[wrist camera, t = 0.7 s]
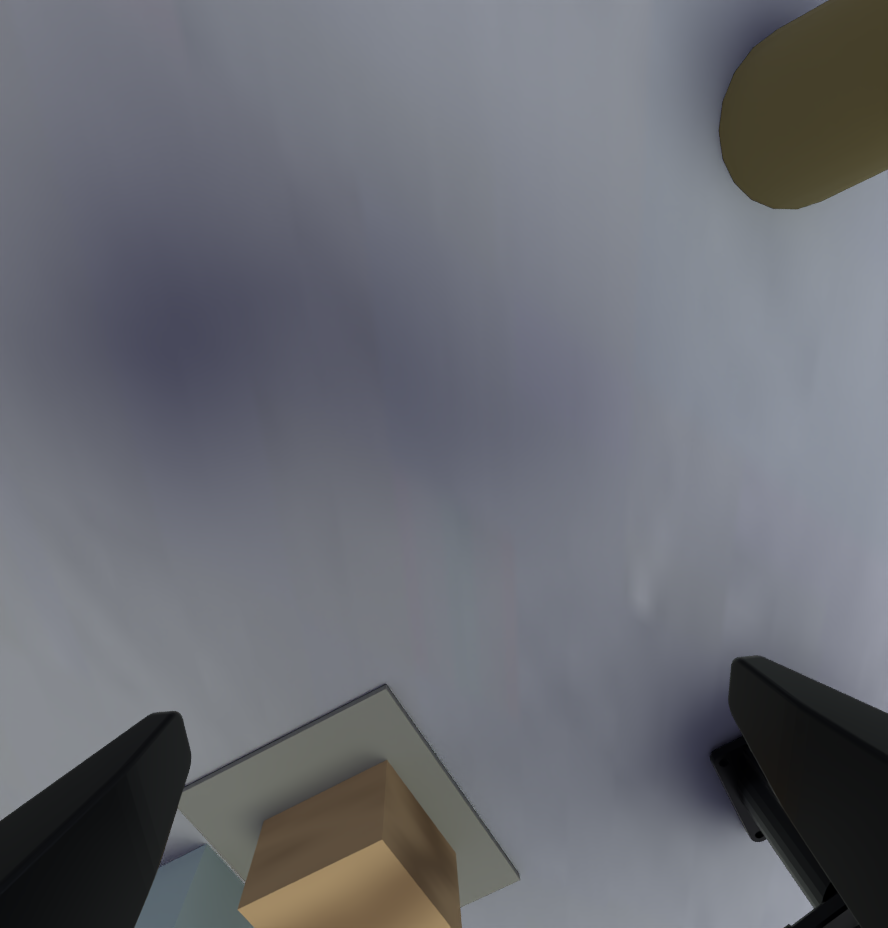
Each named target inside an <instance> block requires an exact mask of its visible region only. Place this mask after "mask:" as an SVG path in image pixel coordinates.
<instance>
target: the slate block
mask: <svg viewBox="0 0 888 928" xmlns="http://www.w3.org/2000/svg"><path fill="white" fill-rule="evenodd" d="M244 886H245V884H244V883H243V882H242V881H241V880H240V879H239V878H238V877H237V876H236V875H235V873H234V872H233V871H232V870H231V869H230V868H229V867H228V866H227V865H226V864H225V863H224V862H223V860H222V859H221V858H220V857H219V856H218V855H217V854H216V853H215V852H214V851H213V850H212V849H211V848H210V846H209V845H208V844H205V845H203V846H201V847H199V848H197V849H195V850H193V851H191V852H189V853H187V854H185V855H183V856H181V857H179V858H177V859H175V860H173V861H171V862H169V863H167V864H165V865H163V866H161V867H159V868H158V870H157V873H156V876H155V879H154V881H153V884H152V886H151V889H150V891H149V894H148V896H147V899H146V901H145V904H144V906H143V908H142V911H141V913H140V916H139V918H138V920H137V923H136V925H135V928H254V927H253V926H252V925H251V924H250V922H249V921H248V920H247V919H246V918H245V917H244V916H243V915H242V914H241V913H240V912H239V911H238V910H237V909H238V906H239V902H240V899H241V896H242V892H243V889H244Z"/></svg>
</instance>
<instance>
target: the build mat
mask: <svg viewBox="0 0 888 928" xmlns="http://www.w3.org/2000/svg"><path fill="white" fill-rule="evenodd" d="M386 760H387V761H388V762H389V763H390V765H391V766H392V767H393V769H394V770H395V771H396V773H397V774H398V775H399V777H400V778H401V779H402V781H403V782H404V784H405V785H406V786H407V788H408V789H409V790H410V792H411V793H412V794H413V796H414V797H415V798H416V800H417V801H418V803H419V804H420V805H421V807H422V808H423V809H424V811H425V812H426V813H427V815H428V816H429V817H430V819H431V820H432V822H433V823H434V824H435V826H436V827H437V828H438V830H439V831H440V832H441V834H442V835H443V836H444V838H445V839H446V840H447V842H448V843H449V845H450V846H451V847H452V849H453V850H454V851H455V853H456V861H457V874H458V886H459V899H460V908H461V907H463V906H465V905H467V904H469V903H471V902H474V901H476V900H478V899H480V898H482V897H484V896H487V895H489V894H491V893H493V892H495V891H497V890H499V889H502V888H504V887H506V886H508V885H510V884H512V883H515V882H517V881H519V880H520V876H519V873H518V872H517V870H516V869H515V868H514V866H513V865H512V863H511V862H510V860H509V859H508V858H507V856H506V855H505V853H504V852H503V850H502V849H501V848H500V846H499V845H498V843H497V842H496V840H495V839H494V838H493V836H492V835H491V833H490V832H489V830H488V829H487V828H486V826H485V825H484V823H483V822H482V820H481V819H480V818H479V816H478V815H477V813H476V812H475V810H474V809H473V808H472V806H471V805H470V803H469V802H468V800H467V799H466V798H465V796H464V795H463V793H462V792H461V790H460V789H459V788H458V786H457V785H456V783H455V782H454V780H453V779H452V778H451V776H450V775H449V773H448V772H447V770H446V769H445V768H444V766H443V765H442V763H441V762H440V760H439V759H438V758H437V756H436V755H435V753H434V752H433V750H432V749H431V748H430V746H429V745H428V743H427V742H426V740H425V739H424V738H423V736H422V735H421V733H420V732H419V730H418V729H417V728H416V726H415V725H414V723H413V722H412V720H411V719H410V718H409V716H408V715H407V713H406V712H405V710H404V709H403V708H402V706H401V705H400V703H399V702H398V700H397V699H396V698H395V696H394V695H393V693H392V692H391V690H390V689H389V688H388V686H387V685H384V686H382V687H380V688H378V689H376V690H374V691H372V692H370V693H368V694H366V695H364V696H363V697H361V698H359V699H357V700H355V701H353V702H351V703H349V704H347V705H345V706H343V707H341V708H339V709H337V710H335V711H333V712H331V713H329V714H327V715H325V716H323V717H321V718H319V719H317V720H316V721H314V722H312V723H310V724H308V725H306V726H304V727H302V728H300V729H298V730H296V731H294V732H292V733H290V734H288V735H286V736H284V737H282V738H280V739H278V740H276V741H274V742H272V743H270V744H269V745H267V746H265V747H263V748H261V749H259V750H257V751H255V752H253V753H251V754H249V755H247V756H245V757H243V758H241V759H239V760H237V761H235V762H233V763H231V764H229V765H227V766H225V767H223V768H221V769H220V770H218V771H216V772H214V773H212V774H210V775H208V776H206V777H204V778H202V779H200V780H198V781H196V782H194V783H192V784H190V785H188V786H186V787H184V789H183V792H182V795H181V798H180V801H179V805H178V809H179V810H180V811H181V812H182V814H183V815H184V816H185V817H186V818H187V819H188V820H189V821H190V822H191V823H192V824H193V826H194V827H195V828H196V829H197V830H198V831H199V832H200V833H201V834H202V835H203V836H204V837H205V839H206V840H207V841H208V842H209V843H210V844H211V845H212V846H213V847H214V848H215V849H216V850H217V852H218V853H219V854H220V855H221V856H222V857H223V858H224V859H225V860H226V861H227V862H228V863H229V865H230V866H231V867H232V868H233V869H234V870H235V871H236V872H237V873H238V874H239V875H240V876H241V878H242V879H243V880H244V881H245V882H246V879H247V876H248V872H249V869H250V866H251V862H252V859H253V856H254V852H255V849H256V846H257V842H258V839H259V836H260V832H261V829H262V825H263V822H264V821H265V820H267V819H269V818H271V817H273V816H275V815H277V814H279V813H281V812H283V811H285V810H287V809H289V808H291V807H293V806H295V805H297V804H299V803H301V802H303V801H305V800H307V799H309V798H311V797H313V796H315V795H317V794H319V793H321V792H323V791H325V790H327V789H329V788H331V787H333V786H335V785H337V784H339V783H341V782H343V781H345V780H347V779H349V778H351V777H353V776H355V775H357V774H359V773H361V772H363V771H365V770H367V769H369V768H371V767H373V766H375V765H377V764H379V763H382V762H384V761H386Z"/></svg>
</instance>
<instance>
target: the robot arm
mask: <svg viewBox="0 0 888 928" xmlns="http://www.w3.org/2000/svg"><path fill="white" fill-rule="evenodd" d="M728 702H729V707H730V711H731V714H732V716H733V718H734V720H735V722H736V723H737V725H738V727H739V729H740V731H741V733H742V735H743V737H741V738H739V739H737V740H735V741H733V742H731V743H728V744H726V745H724V746H722V747H720V748H718V749H716V750H714V751H713V752H712V753H711V755H710V760H711V762H712V764H713V766H714V768H715V770H716V772H717V774H718V776H719V778H720V780H721V782H722V784H723V786H724V788H725V790H726V792H727V794H728V796H729V798H730V800H731V802H732V804H733V806H734V808H735V810H736V812H737V814H738V816H739V818H740V820H741V822H742V824H743V826H744V828H745V830H746V832H747V833H748V835H749V836H750V838H751V839H752V840H753V841H755V842H761V841H764V840H766V839H767V840H768V842H769V843H770V845H771V846H772V848H773V849H774V851H775V852H776V853H777V855H778V856H779V858H780V859H781V861H782V862H783V864H784V865H785V867H786V868H787V870H788V871H789V873H790V874H791V875H792V877H793V878H794V880H795V881H796V883H797V884H798V886H799V887H800V889H801V890H802V892H803V893H804V895H805V896H806V898H807V899H808V900H809V902H810V903H811V905H812V906H813V908H814V909H813V910H812V911H810V912H809V913H808V914H807V915H805V916H804V917H803V918H801V919H800V920H799V921H797V922H796V923H795V924H793V925H792V926H791V925H789V924H788V925H787V926H785V927H784V928H888V713H886V712H883V711H881V710H879V709H877V708H875V707H872V706H870V705H868V704H866V703H864V702H861V701H859V700H857V699H855V698H853V697H850V696H848V695H846V694H844V693H842V692H839V691H837V690H835V689H833V688H831V687H828V686H826V685H824V684H822V683H820V682H817V681H815V680H813V679H811V678H809V677H806V676H804V675H802V674H800V673H798V672H795V671H793V670H791V669H789V668H787V667H784V666H782V665H780V664H778V663H776V662H773V661H771V660H769V659H767V658H765V657H762V656H745V657H737V658H735V659H734V660H733V662H732V664H731V673H730V684H729V696H728ZM190 765H191V750H190V746H189V742H188V738H187V734H186V730H185V726H184V722H183V718H182V716H181V714H180V713H179V712H177V711H167V712H157V713H152V714H150V715H148V716H147V717H145V718H144V719H142V720H141V721H140V722H138V723H137V724H135V725H134V726H133V727H131V728H130V729H128V730H127V731H126V732H124V733H123V734H121V735H120V736H119V737H117V738H116V739H114V740H113V741H112V742H110V743H109V744H107V745H106V746H105V747H103V748H102V749H100V750H99V751H98V752H96V753H95V754H93V755H92V756H91V757H89V758H88V759H86V760H85V761H84V762H82V763H81V764H79V765H78V766H77V767H75V768H74V769H72V770H71V771H69V772H68V773H67V774H65V775H64V776H62V777H61V778H60V779H58V780H57V781H55V782H54V783H53V784H51V785H50V786H48V787H47V788H46V789H44V790H43V791H41V792H40V793H39V794H37V795H36V796H34V797H33V798H32V799H30V800H29V801H27V802H26V803H25V804H23V805H22V806H20V807H19V808H18V809H16V810H15V811H13V812H12V813H11V814H9V815H8V816H6V817H5V818H4V819H2V820H1V821H0V928H135V925H136V923H137V920H138V918H139V916H140V913H141V911H142V908H143V906H144V904H145V901H146V899H147V896H148V894H149V891H150V889H151V886H152V884H153V881H154V879H155V876H156V873H157V870H158V867H159V865H160V862H161V859H162V856H163V852H164V849H165V846H166V843H167V840H168V837H169V833H170V830H171V827H172V824H173V821H174V817H175V814H176V811H177V808H178V805H179V801H180V798H181V795H182V792H183V789H184V786H185V782H186V779H187V776H188V773H189V769H190Z"/></svg>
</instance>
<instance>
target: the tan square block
mask: <svg viewBox="0 0 888 928" xmlns="http://www.w3.org/2000/svg"><path fill="white" fill-rule="evenodd" d="M237 910H238V911H239V912H240V913H241V914H242V915H243V916H244V917H245V918H246V919H247V920H248V921H249V922H250V924H251V925H252V926H253V927H254V928H462V924H461V912H460V899H459V886H458V874H457V861H456V853H455V851H454V850H453V849H452V847H451V846H450V845H449V843H448V842H447V840H446V839H445V838H444V836H443V835H442V834H441V832H440V831H439V830H438V828H437V827H436V826H435V824H434V823H433V822H432V820H431V819H430V817H429V816H428V815H427V813H426V812H425V811H424V809H423V808H422V807H421V805H420V804H419V803H418V801H417V800H416V798H415V797H414V796H413V794H412V793H411V792H410V790H409V789H408V788H407V786H406V785H405V784H404V782H403V781H402V779H401V778H400V777H399V775H398V774H397V773H396V771H395V770H394V769H393V767H392V766H391V765H390V763H389V762H388V761H387V760H386V761H384V762H382V763H379V764H377V765H375V766H373V767H371V768H369V769H367V770H365V771H363V772H361V773H359V774H357V775H355V776H353V777H351V778H349V779H347V780H345V781H343V782H341V783H339V784H337V785H335V786H333V787H331V788H329V789H327V790H325V791H323V792H321V793H319V794H317V795H315V796H313V797H311V798H309V799H307V800H305V801H303V802H301V803H299V804H297V805H295V806H293V807H291V808H289V809H287V810H285V811H283V812H281V813H279V814H277V815H275V816H273V817H271V818H269V819H267V820H265V821H264V822H263V825H262V829H261V832H260V836H259V839H258V842H257V846H256V849H255V852H254V856H253V859H252V862H251V866H250V869H249V872H248V876H247V879H246V882H245V886H244V889H243V892H242V896H241V899H240V902H239V906H238V909H237Z"/></svg>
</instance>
